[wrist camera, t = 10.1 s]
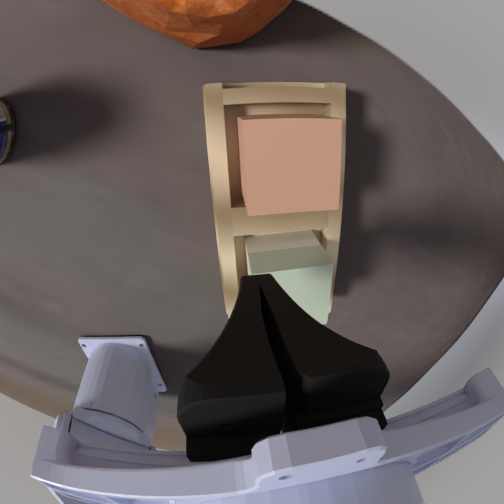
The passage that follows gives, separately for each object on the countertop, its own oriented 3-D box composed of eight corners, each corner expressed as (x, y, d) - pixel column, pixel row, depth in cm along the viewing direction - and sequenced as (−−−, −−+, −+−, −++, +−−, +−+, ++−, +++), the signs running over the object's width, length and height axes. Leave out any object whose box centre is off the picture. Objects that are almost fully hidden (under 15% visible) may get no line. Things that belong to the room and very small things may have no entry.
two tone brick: (310, 229, 22) (333, 264, 17) (308, 283, 24) (326, 323, 20) (244, 236, 21) (251, 274, 17) (249, 291, 24) (256, 334, 19)
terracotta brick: (312, 184, 20) (338, 209, 16) (241, 188, 20) (248, 216, 15) (312, 114, 17) (341, 119, 13) (236, 115, 17) (242, 120, 13)
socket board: (323, 293, 26) (332, 312, 24) (225, 304, 26) (227, 325, 23) (332, 85, 18) (348, 83, 15) (203, 87, 17) (201, 84, 15)
